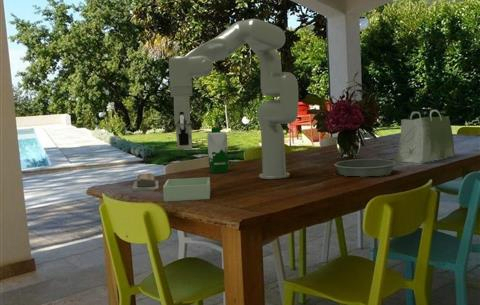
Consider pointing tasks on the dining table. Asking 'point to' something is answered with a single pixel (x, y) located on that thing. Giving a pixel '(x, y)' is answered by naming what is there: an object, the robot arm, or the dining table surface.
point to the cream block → (188, 138)
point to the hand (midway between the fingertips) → (184, 143)
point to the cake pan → (365, 167)
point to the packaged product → (145, 182)
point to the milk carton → (217, 151)
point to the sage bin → (186, 189)
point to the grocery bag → (425, 139)
